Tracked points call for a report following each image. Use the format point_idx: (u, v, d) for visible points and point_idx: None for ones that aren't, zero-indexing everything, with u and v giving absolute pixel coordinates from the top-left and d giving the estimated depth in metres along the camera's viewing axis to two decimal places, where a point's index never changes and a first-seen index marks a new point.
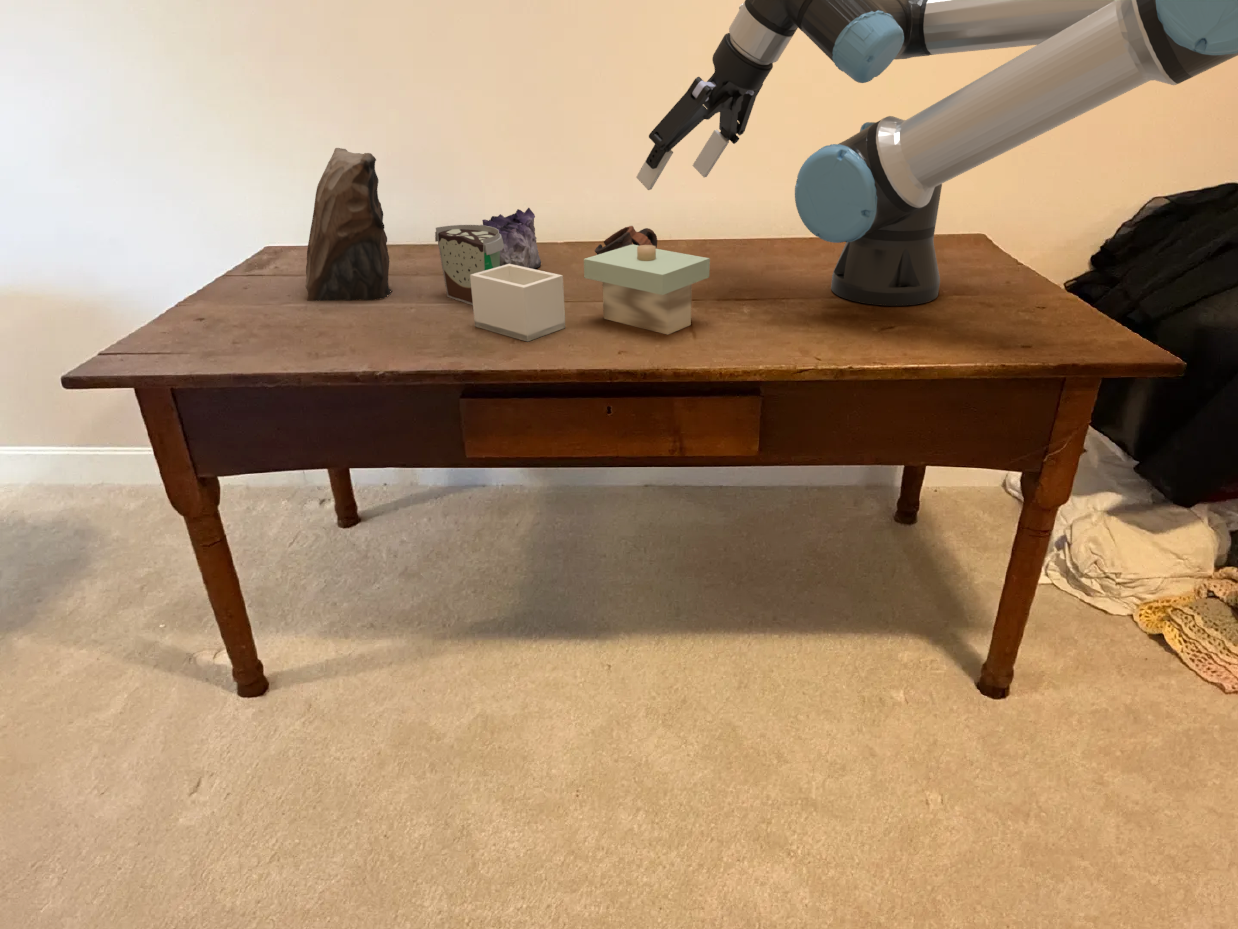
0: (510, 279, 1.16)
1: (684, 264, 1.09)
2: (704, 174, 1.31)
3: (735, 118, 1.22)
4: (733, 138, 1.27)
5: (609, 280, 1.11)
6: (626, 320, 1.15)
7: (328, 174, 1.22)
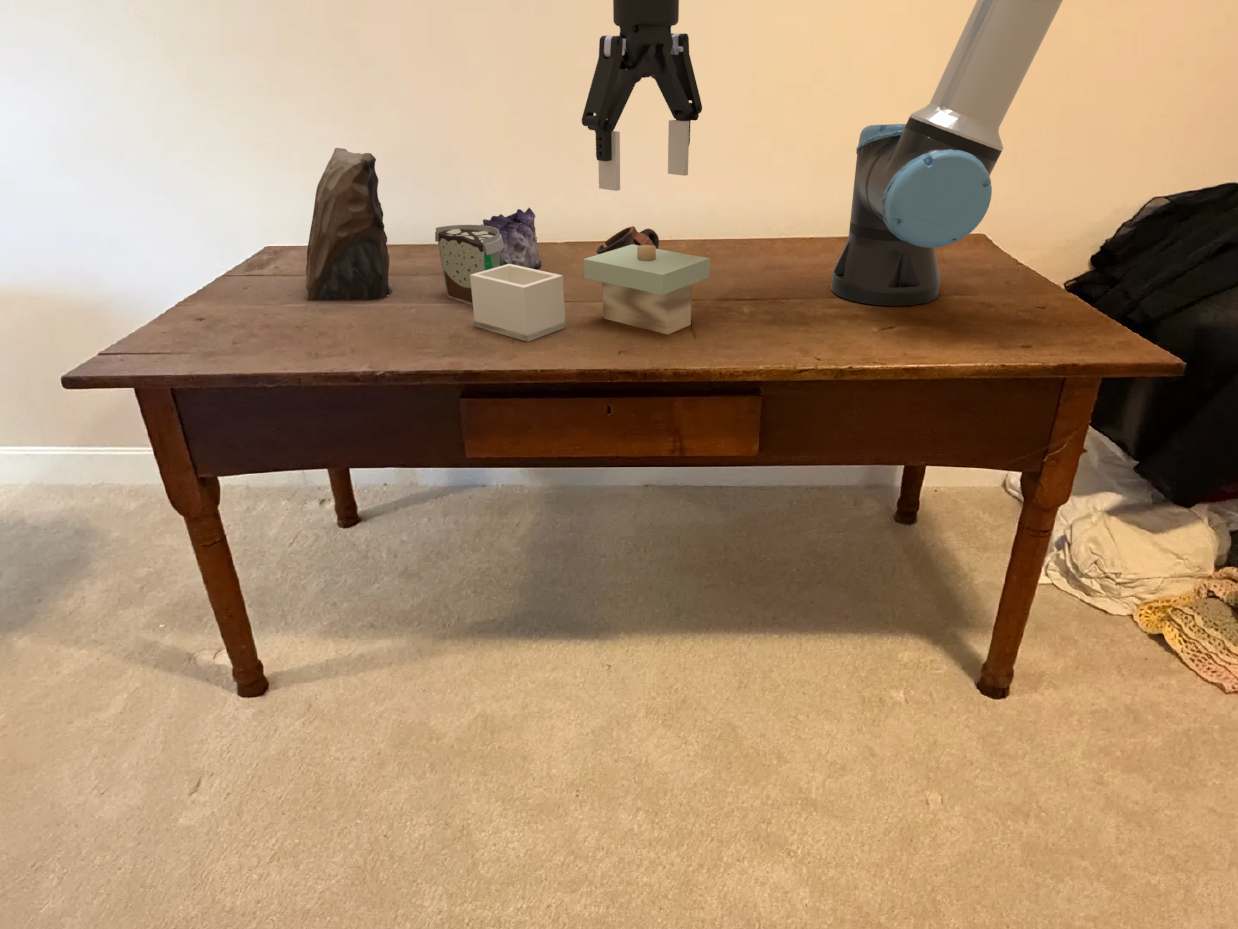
0: (510, 279, 1.16)
1: (684, 264, 1.09)
2: (683, 172, 1.11)
3: (678, 85, 1.05)
4: (692, 115, 1.09)
5: (609, 280, 1.11)
6: (626, 320, 1.15)
7: (328, 174, 1.22)
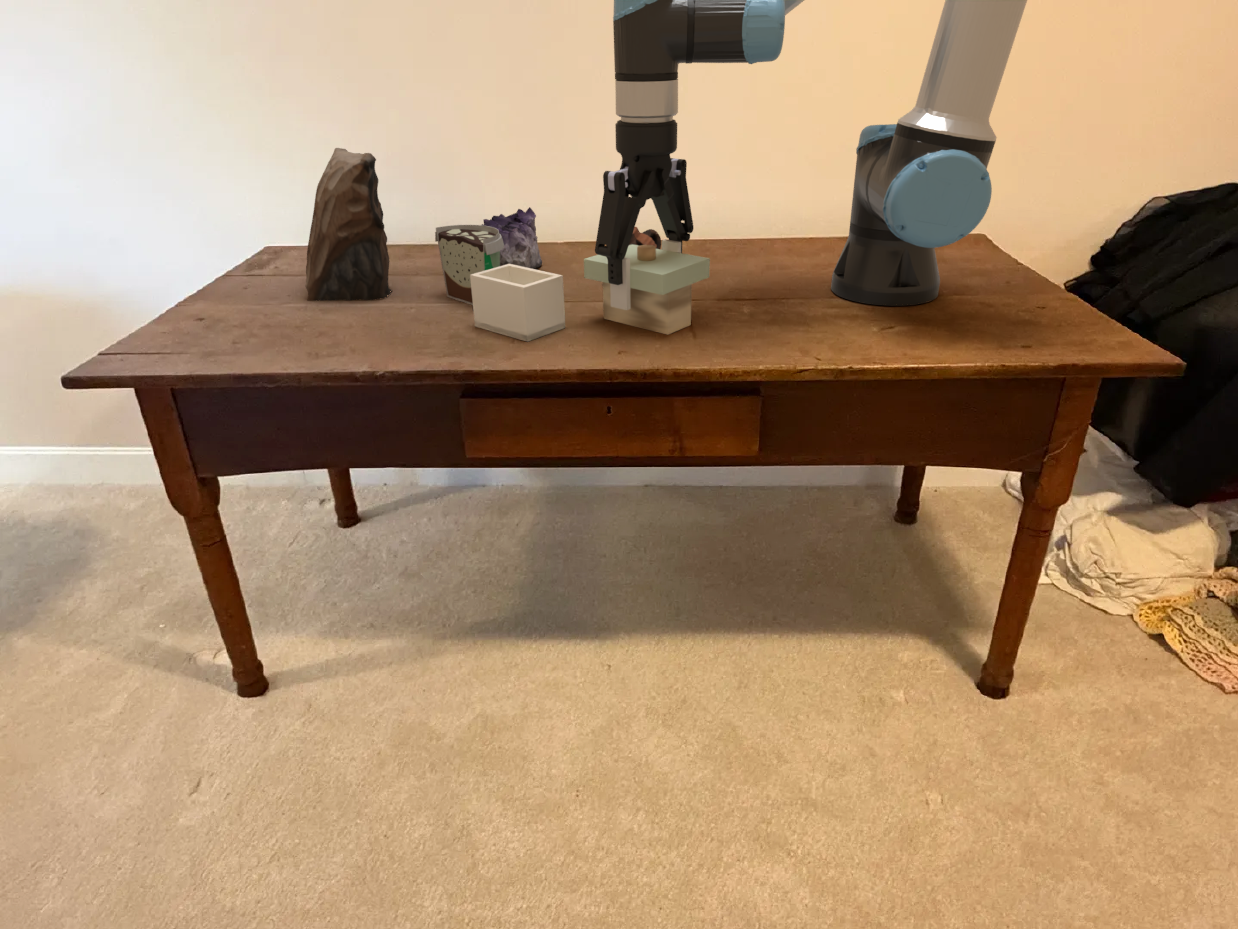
0: (510, 279, 1.16)
1: (684, 264, 1.09)
2: None
3: (674, 207, 1.11)
4: (683, 236, 1.14)
5: None
6: (626, 320, 1.15)
7: (328, 174, 1.22)
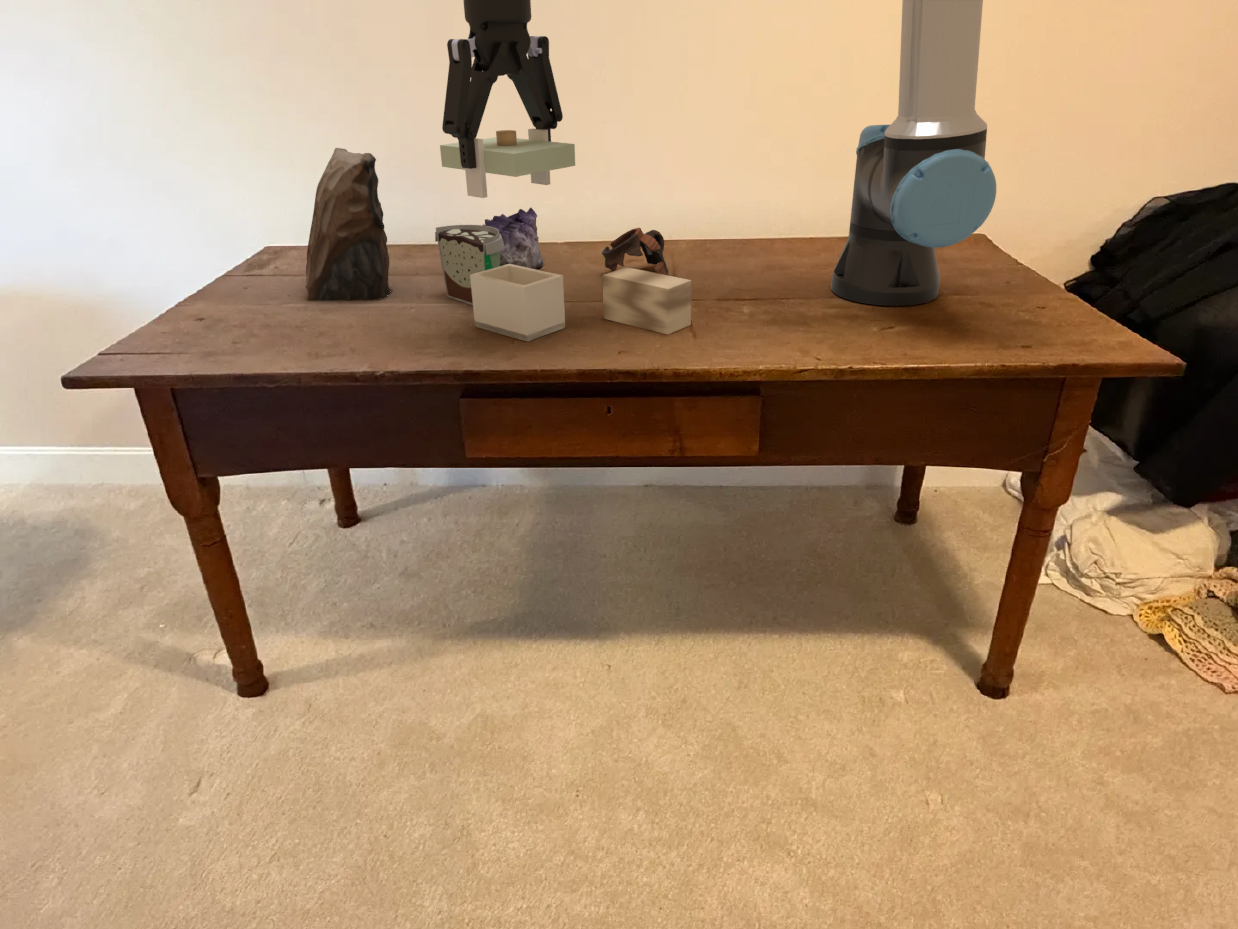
0: (510, 279, 1.16)
1: (543, 147, 1.01)
2: (545, 181, 1.09)
3: (536, 89, 1.04)
4: (550, 123, 1.07)
5: None
6: (626, 320, 1.15)
7: (328, 174, 1.22)
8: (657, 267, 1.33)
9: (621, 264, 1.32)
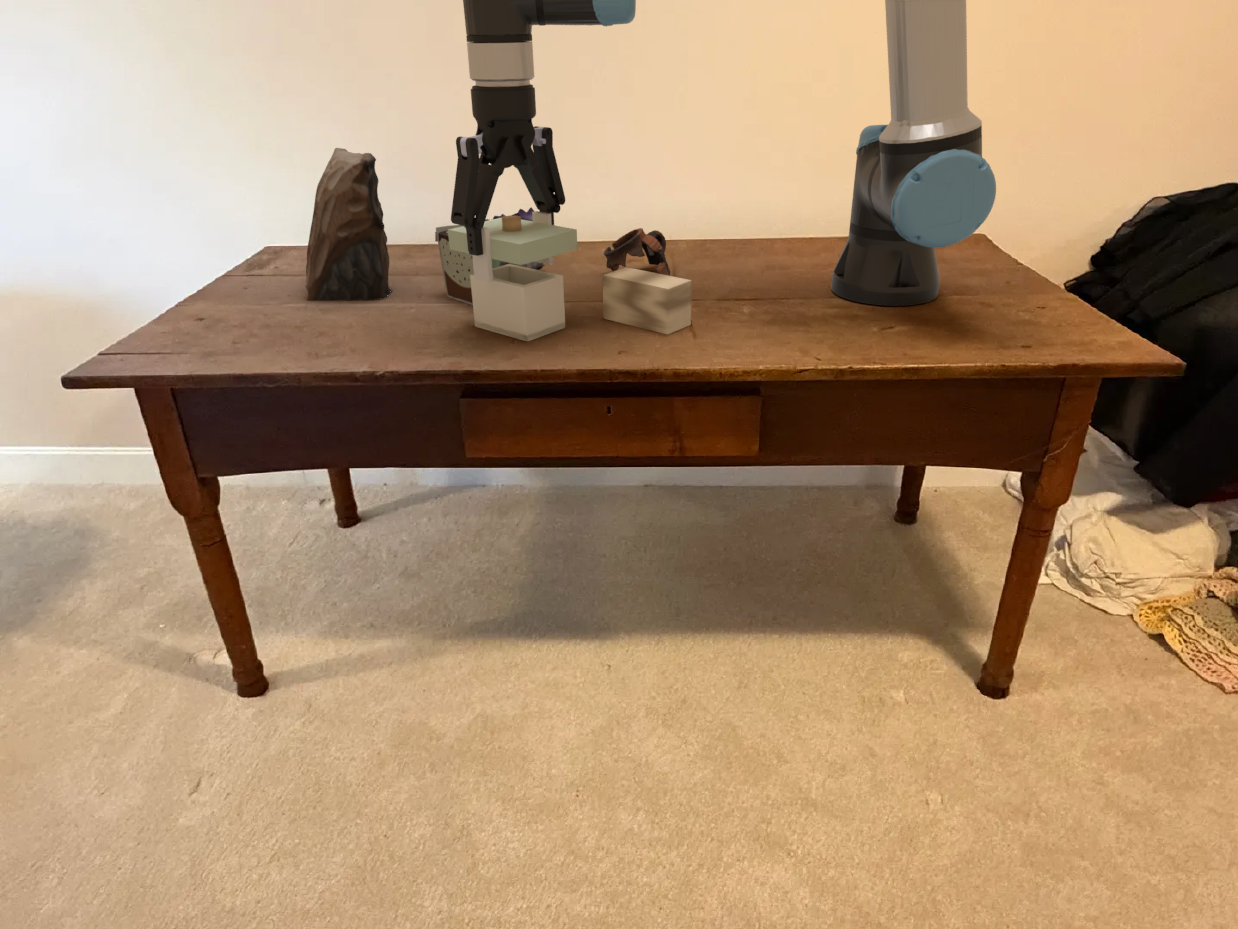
0: (510, 279, 1.16)
1: (547, 234, 1.06)
2: (548, 261, 1.14)
3: (540, 177, 1.08)
4: (553, 207, 1.11)
5: None
6: (626, 320, 1.15)
7: (328, 174, 1.22)
8: (659, 268, 1.33)
9: (623, 264, 1.31)
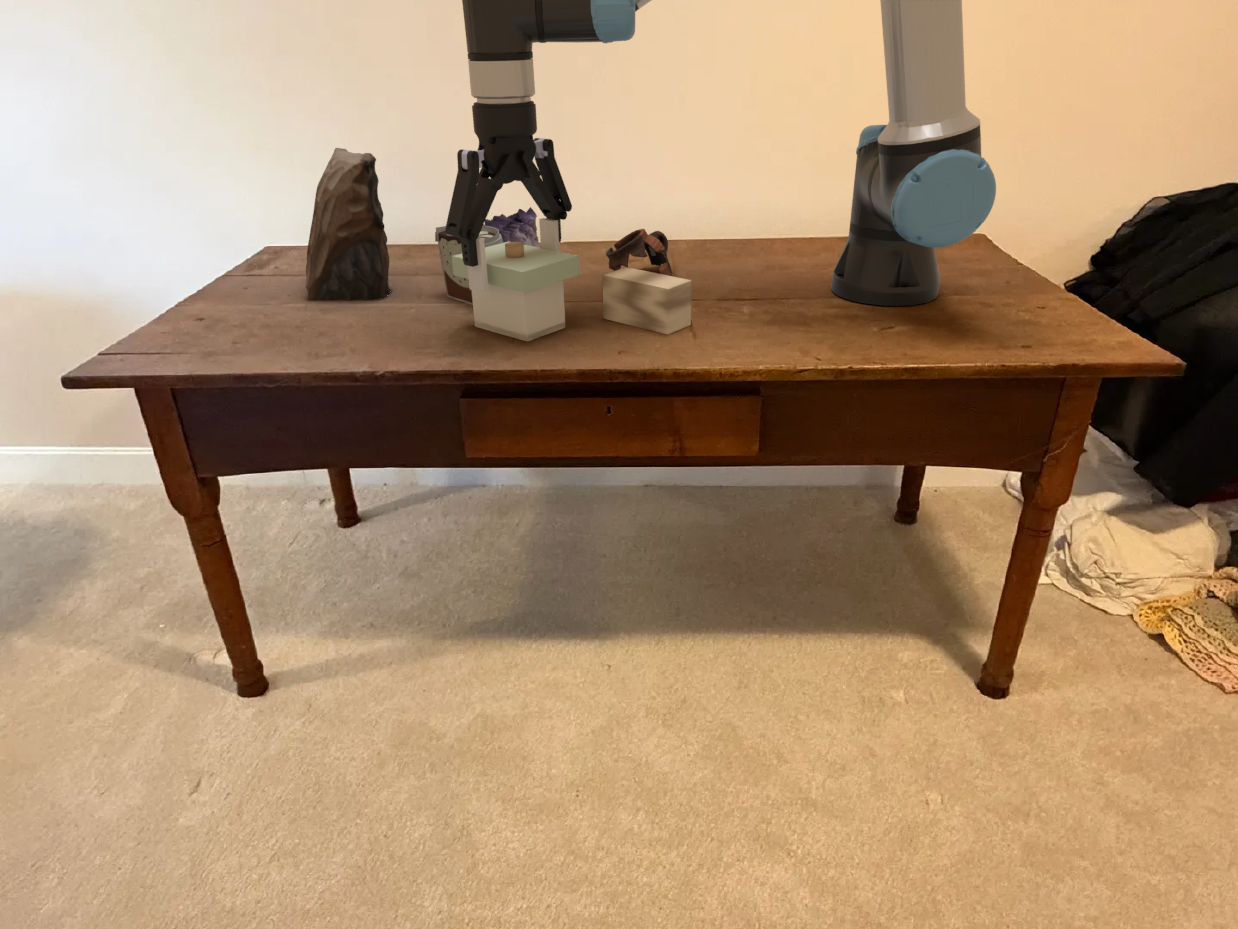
0: None
1: (550, 261, 1.07)
2: None
3: (544, 188, 1.09)
4: (560, 214, 1.12)
5: None
6: (626, 320, 1.15)
7: (328, 174, 1.22)
8: (662, 268, 1.32)
9: (625, 265, 1.31)
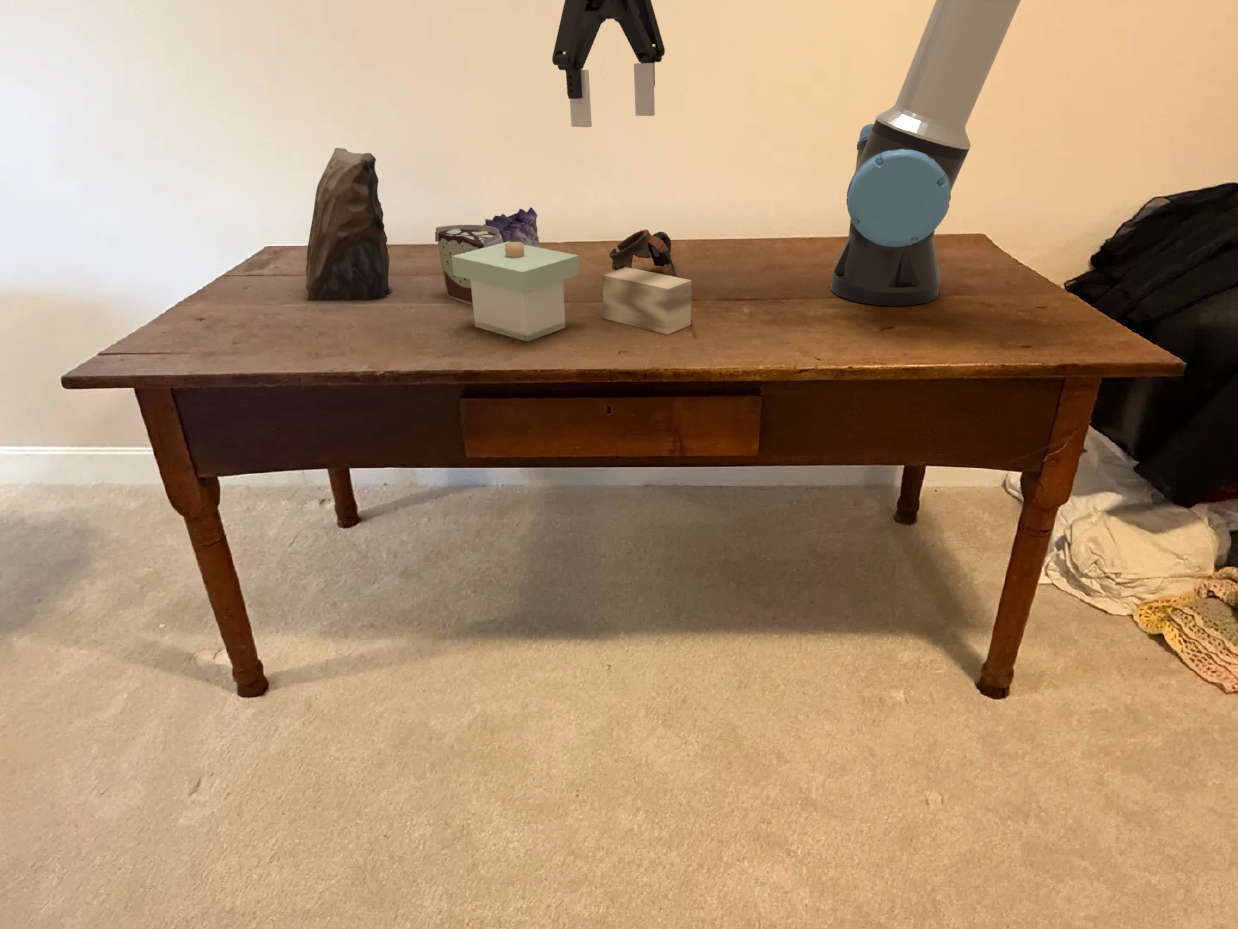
0: None
1: (550, 261, 1.07)
2: (650, 112, 1.17)
3: (641, 27, 1.11)
4: (655, 57, 1.15)
5: (475, 277, 1.09)
6: (626, 320, 1.15)
7: (328, 174, 1.22)
8: (665, 269, 1.32)
9: (629, 266, 1.31)
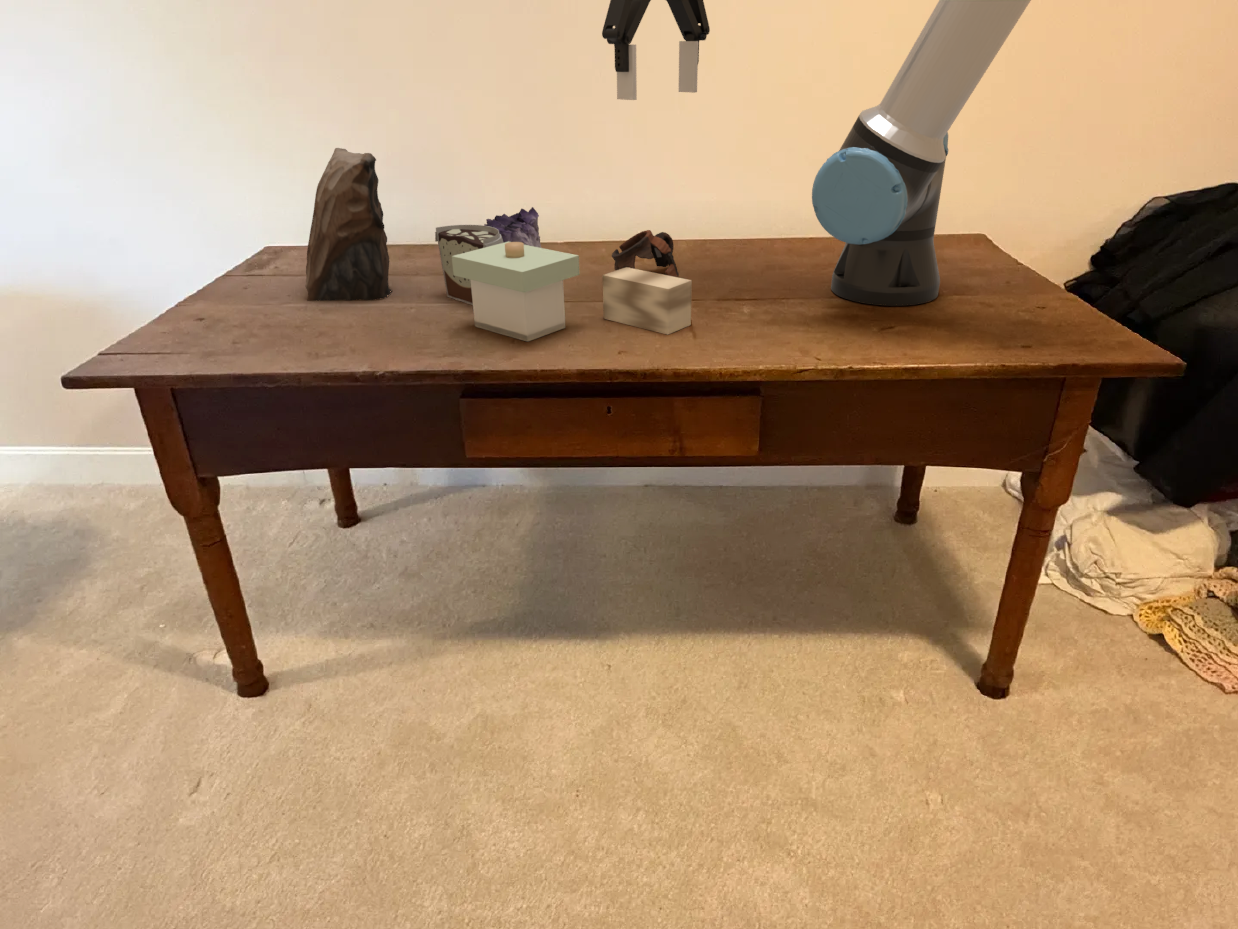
0: None
1: (550, 261, 1.07)
2: (692, 89, 1.22)
3: (688, 6, 1.16)
4: (700, 35, 1.19)
5: (475, 277, 1.09)
6: (626, 320, 1.15)
7: (328, 174, 1.22)
8: (668, 270, 1.32)
9: (632, 267, 1.30)
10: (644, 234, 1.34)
